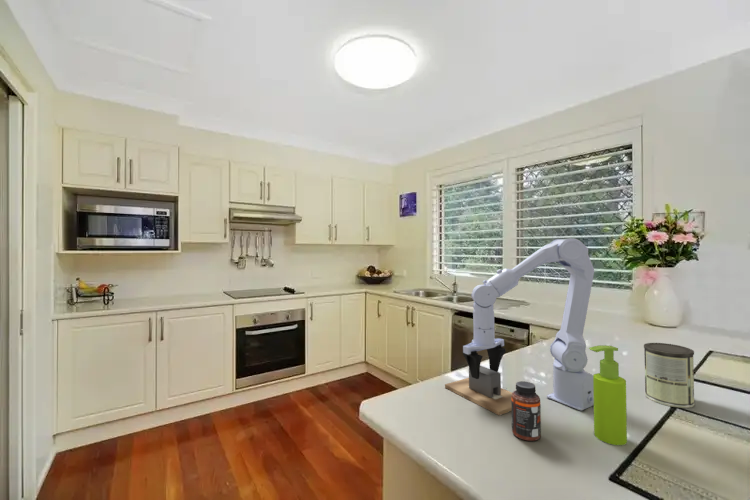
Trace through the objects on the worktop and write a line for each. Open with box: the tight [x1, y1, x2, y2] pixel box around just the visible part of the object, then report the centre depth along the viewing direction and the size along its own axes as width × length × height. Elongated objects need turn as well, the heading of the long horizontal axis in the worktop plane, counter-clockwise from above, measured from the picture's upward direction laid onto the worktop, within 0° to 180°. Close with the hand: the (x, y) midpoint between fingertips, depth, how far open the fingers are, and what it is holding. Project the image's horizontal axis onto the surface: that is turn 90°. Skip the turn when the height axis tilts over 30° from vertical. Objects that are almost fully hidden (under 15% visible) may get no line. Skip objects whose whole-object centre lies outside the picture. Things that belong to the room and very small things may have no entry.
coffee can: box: [643, 342, 696, 409], centre depth 91 cm, size 10×10×14 cm
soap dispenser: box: [588, 344, 628, 446], centre depth 73 cm, size 6×7×20 cm
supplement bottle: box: [511, 380, 542, 442], centre depth 75 cm, size 6×6×11 cm
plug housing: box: [468, 365, 502, 398], centre depth 96 cm, size 8×4×6 cm, turn 30°
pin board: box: [444, 377, 513, 416], centre depth 96 cm, size 20×12×3 cm, turn 30°
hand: (484, 375), depth 95 cm, fingers open, 7 cm apart
